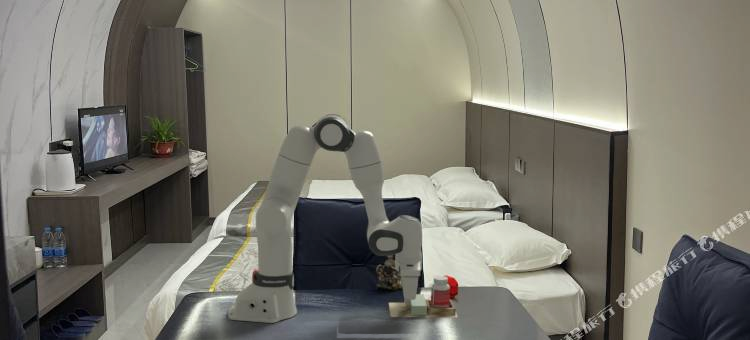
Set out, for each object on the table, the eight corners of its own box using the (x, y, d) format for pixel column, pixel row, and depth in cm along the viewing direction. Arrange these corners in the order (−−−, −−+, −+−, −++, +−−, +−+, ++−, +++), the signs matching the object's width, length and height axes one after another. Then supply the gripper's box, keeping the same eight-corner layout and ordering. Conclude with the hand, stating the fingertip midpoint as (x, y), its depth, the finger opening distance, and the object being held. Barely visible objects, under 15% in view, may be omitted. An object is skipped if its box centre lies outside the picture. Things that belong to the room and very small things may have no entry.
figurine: (373, 293, 247) (373, 253, 245) (379, 284, 257) (380, 246, 255) (404, 295, 244) (405, 255, 242) (410, 287, 254) (410, 248, 252)
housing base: (390, 320, 219) (390, 310, 218) (388, 305, 233) (388, 297, 232) (457, 320, 219) (458, 311, 219) (452, 306, 233) (452, 297, 233)
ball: (446, 303, 236) (447, 282, 235) (430, 297, 242) (430, 277, 241) (461, 298, 242) (462, 278, 241) (445, 293, 248) (445, 273, 247)
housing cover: (411, 315, 220) (411, 305, 219) (408, 303, 232) (408, 294, 231) (426, 315, 220) (426, 306, 219) (423, 303, 232) (423, 294, 231)
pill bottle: (452, 310, 225) (453, 278, 224) (438, 314, 222) (439, 281, 220) (441, 305, 230) (442, 274, 229) (426, 308, 227) (427, 276, 225)
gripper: (397, 255, 234) (396, 294, 236) (400, 272, 213) (399, 314, 215) (415, 255, 234) (414, 294, 236) (420, 272, 214) (419, 314, 216)
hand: (407, 304), depth 225 cm, fingers closed
